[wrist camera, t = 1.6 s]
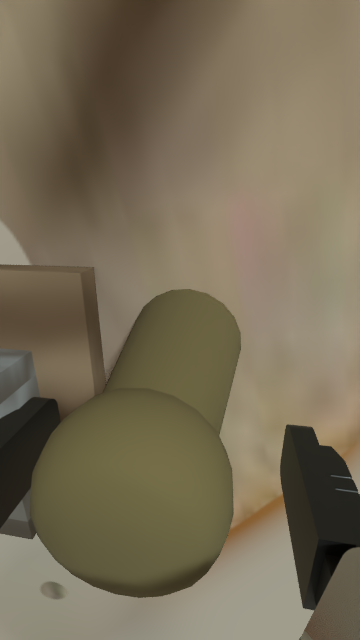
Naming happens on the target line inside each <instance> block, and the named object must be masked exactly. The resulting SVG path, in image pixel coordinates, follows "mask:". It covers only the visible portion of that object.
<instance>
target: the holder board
mask: <svg viewBox="0 0 360 640" xmlns="http://www.w3.org/2000/svg"><path fill="white" fill-rule="evenodd" d="M105 387H106V383H105V373H104V363H103V354H102V344H101V334H100V325H99V315H98V305H97V296H96V286H95V276H94V267H63V266H31V265H0V418H2V417H4V416H5V415H7V414H9V413H11V412H13V411H15V410H16V409H19V408H20V407H22V406H23V405H24V404H25V403H26V402H27V401H28V400H29V399H31V398H32V397H42V398H52V399H55V400H56V401H57V403H58V408H59V414H60V420H61V421H62V420H63V419H64V418H65V417H67V416H68V415H69V414H71V413H72V412H73V411H74V410H76V409H77V408H78V407H80V406H81V405H82V404H84V403H85V402H87V401H88V400H90V399H91V398H92V397H94V396H95V395H98V394H101V393H103V391H104V389H105ZM30 493H31V488H30V489H29V491H28V492H27V493H26V495H25V496H24V498H23V499H22V500H21V502H20V503H19V504H18V506H17V507H16V508H15V510H14V511H13V512H12V514H11V515H10V516H9V518H8V519H7V520H6V522H5V523H4V524H3V526H2V527H1V528H0V533H1V534H6V535H12V536H17V537H22V538H28V539H33V538H34V536H35V534H36V530H35V527H34V525H33V522H32V519H31V517H30Z"/></svg>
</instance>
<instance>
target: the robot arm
mask: <svg viewBox="0 0 360 640" xmlns="http://www.w3.org/2000/svg"><path fill="white" fill-rule="evenodd" d="M60 423H61V420H60V414H59V408H58V403H57V401H56V400H55V399H52V398H42V397H32V398H31V399H29V400H28V401H27V402H26V403H25V404H24V405H23V406H22V407H20V408H19V409H16V410H15V411H13V412H11V413H9V414H7V415H5V416H4V417H2V418H0V528H1V527H2V526H3V524H4V523H5V522H6V520H7V519H8V518H9V516H10V515H11V514H12V512H13V511H14V510H15V508H16V507H17V506H18V504H19V503H20V502H21V500H22V499H23V498H24V496H25V495H26V493H27V492H28V491H29V489H30V488H31V481H32V472H33V470H34V468H35V465H36V463H37V461H38V459H39V456H40V454H41V452H42V450H43V448H44V446H45V444H46V443H47V441H48V439H49V437H50V435H51V433H52V432H53V431H54V430H55V429H56V427H57V426H58V425H59V424H60ZM280 476H281V485H282V491H283V496H284V502H285V508H286V514H287V519H288V525H289V531H290V536H291V542H292V548H293V553H294V559H295V565H296V571H297V576H298V582H299V588H300V594H301V599H302V605H303V608H305V609H311V610H315V611H314V613H313V614H312V616H311V618H310V621H309V623H308V624H307V626H306V628H305V630H304V632H303V634H302V636H301V637H300V639H299V640H360V494H358V489H357V487H356V485H355V483H354V481H353V480H352V476H351V474H350V472H349V470H348V467H347V465H346V463H345V461H344V460H343V459H342V457H341V456H340V455H339V454H338V453H337V452H336V451H335V450H334V449H333V448H332V447H330V446H322V445H319V443H318V440H317V437H316V434H315V432H314V429H313V428H312V427H307V426H297V425H288V424H287V426H286V429H285V435H284V442H283V449H282V456H281V465H280Z"/></svg>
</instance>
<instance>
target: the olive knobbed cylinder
mask: <svg viewBox="0 0 360 640" xmlns="http://www.w3.org/2000/svg"><path fill="white" fill-rule="evenodd" d="M240 350H241V337H240V330H239V328H238V325H237V323H236V320H235V318H234V316H233V315H232V314H231V313H230V311H229V310H228V309H227V308H226V307H225V305H224V304H223V303H221V302H220V301H218V300H216V299H215V298H213V297H212V296H210V295H208V294H206V293H202V292H198V291H195V290H191V289H185V290H171V291H169V292H166V293H163V294H161V295H158V296H156V297H155V298H154V299H152V300H151V301H150V302H149V303H148V304H147V305H145V306H144V307H143V309H142V311H141V313H140V314H139V316H138V318H137V320H136V322H135V324H134V326H133V328H132V330H131V332H130V335H129V337H128V339H127V341H126V343H125V345H124V348H123V350H122V352H121V354H120V356H119V359H118V361H117V363H116V365H115V367H114V369H113V372H112V374H111V376H110V378H109V380H108V382H107V385H106V387H105V389H104V391H103V393H101V394H98V395H95V396H94V397H92V398H91V399H90V400H88V401H87V402H85V403H84V404H82V405H81V406H80V407H78V408H77V409H76V410H74V411H73V412H72V413H71V414H69V415H68V416H67V417H65V418H64V419H63V420H62V421H61V423H60V424H59V425H58V426H57V427H56V429H55V430H54V431H53V432H52V433H51V435H50V437H49V439H48V441H47V443H46V444H45V446H44V448H43V450H42V452H41V454H40V456H39V459H38V461H37V463H36V465H35V468H34V470H33V472H32V481H31V493H30V517H31V519H32V522H33V525H34V527H35V530H36V533H37V535H38V537H39V538H40V540H41V541H42V543H43V544H44V545H45V547H46V548H47V549H48V550H49V552H50V553H51V555H52V556H53V557H54V559H55V560H56V561H57V562H58V563H60V564H61V565H62V566H63V567H64V568H65V569H67V570H68V571H69V572H70V573H71V574H73V575H74V576H76V577H78V578H80V579H81V580H83V581H85V582H87V583H89V584H90V585H92V586H94V587H97V588H100V589H103V590H106V591H108V592H111V593H114V594H118V595H125V596H131V597H138V598H141V597H157V596H163V595H168V594H171V593H174V592H177V591H180V590H182V589H185V588H188V587H191V586H192V585H193V584H195V583H196V582H197V581H198V580H199V579H201V578H202V577H203V576H204V575H205V574H206V573H207V572H208V571H209V569H210V568H211V566H212V565H213V564H214V562H215V560H216V559H217V558H218V556H219V555H220V552H221V550H222V548H223V545H224V543H225V541H226V538H227V536H228V533H229V529H230V525H231V522H232V518H233V481H232V468H231V465H230V462H229V458H228V455H227V452H226V450H225V448H224V446H223V443H222V441H221V439H220V437H219V434H220V430H221V426H222V422H223V418H224V414H225V410H226V406H227V402H228V398H229V394H230V390H231V386H232V382H233V378H234V374H235V370H236V366H237V362H238V358H239V354H240Z"/></svg>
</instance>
